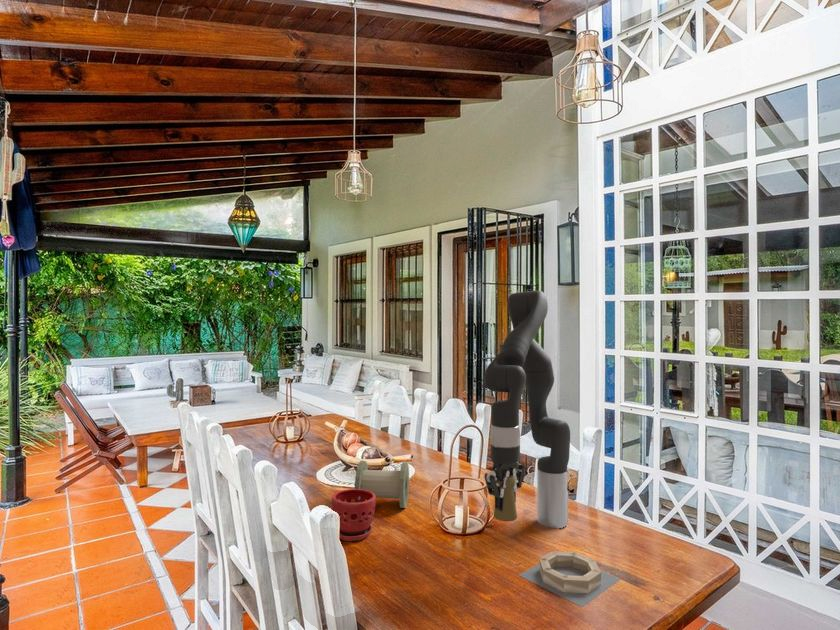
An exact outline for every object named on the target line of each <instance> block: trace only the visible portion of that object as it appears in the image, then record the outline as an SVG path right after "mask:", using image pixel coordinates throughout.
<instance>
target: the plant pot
mask: <svg viewBox="0 0 840 630" xmlns="http://www.w3.org/2000/svg"><path fill="white" fill-rule="evenodd" d="M358 497H361V499H358ZM365 499H366V500H365ZM376 499H377V498H376V496H375V494H374V493H372V492H370V491H367V490H362V489H355V488H349V489H343V490H339V491H337V492H335V493H334V494H333V495H332V497H331V511H332V510H333V511H335V512H337V513H338V514H339V516H340V538H339V540H343V541H348V542H350V541H351V542H352V541H361V540H363V539H365V538H367V537H369V535H370V534H371V533H372V531H373V528H372V525H371V524H372V522H373V519H374V518H375V510H376ZM352 500H354V502H352Z"/></svg>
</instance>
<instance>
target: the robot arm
mask: <svg viewBox="0 0 840 630" xmlns="http://www.w3.org/2000/svg"><path fill="white" fill-rule="evenodd" d="M548 304H549V303H548V299H547V296H546V294H545V292H544V291H541V290H530V291H522V292H521V291H520V292H515V293H511V294H510V295H509V297H508V300H507V308H508V314H509V318H510V321H511V325H512V328H513V329H512V330H511V331H510V332H509V333H508V334H507V335H506V337H505V339H504V341H503V343H502V346H501V348H500V352H499V353H498V354H497V355H496V356H495V357H494V358H493V359H492V361H490V363H489V364H488V366H487V367H486V369H485V371H484V375H483V382H484V385H485V387H486V389H487V390H489V391H491V392H496V393H508V394H509V397H508V399H502V400H497V401H495V402H494V401H493V403H492V404H491V410H490V411H491V412H490V413H491V426H490V436H489V437H490V460H491V461H492V464H493V465H492V468H491V472H489V473H488V472H485V473H484V476H483V477H484V481H485V485H486V489H487V492H488V495H491V496H493V497H494V509H495V508H496V510H497V509H499V510H500V511H501V512H502V510H503V499H504V497H503V495H504V488H506V484H505V483H506V480H507V479H508V477H509V475H512V476H513V477H514V478H515V486H514V487H513V489H514V497H515V504H516V502H517V499H516V498H517V492H518V489H521V488H522V485H523V480H524V475H525V471H526V466H525V464H522V463H519V462H520V461H521V432H520V406H521V405H520V404H521V402H522V401H521V400H522V395H523V393H524V389H525V390H526V395H527V401H528V408H529V409H528V410H529V421H530V431H531V432H530V433H531V436H532V439H533V441H534V443H536V444H537V446H541V447H543V448H547V449H548V448H549V449H550V452H549V453H550V454H549V455H547V456H543V457H539V458H538V459H537V462H536V463H537V464H536V465H537V466H536V467H537V468H536V472H537V473H536V475H537V476H536V478H537V479H536V480H537V481H536V483H537V484H536V486H537V490H536V496H537V497H536V498H537V499H536V504H537V505H536V511H537V512H536V523H537V524H539V525H541V526H543V527H547V528H553V529H555V528H556V529H558V528H561V529H564V528H566V527H567V526H566V525H568V523H569V493H568V464H569V462H570V450H571V429H570V426H569V424H568V423H567V421H564V420H560V419H557V418H556V419H555V418H550V417H549V415H548V411H547V401H548V397H549V396H550V393H551V391H552V389H553V386H554V385H555V384H554V383H555V375H554V370H553V362H552V360H551V357H550V356H549V354H548V353H547V352H546V351H545V349H543V347H542V346H541V345H540V344H539V343H538V342H537V341H536V340H535V337H536V335H537V333H538V331H539V330H540V328H541V326H542V325H543V323H544V321H545V319H546V317H547V313H548V308H549V305H548ZM496 480H498V481H501V482H502V481H503V482H502V484H498V483H496ZM498 487H500V492H499V491H498ZM565 526H566V527H565ZM563 527H564V528H563Z"/></svg>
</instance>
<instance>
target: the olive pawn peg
mask: <svg viewBox="0 0 840 630" xmlns="http://www.w3.org/2000/svg"><path fill="white" fill-rule="evenodd" d="M502 482H503V481H502ZM502 482H501V481H498V480H496V483H498V484H502ZM505 484H506V488H504V495H503V497H504V499H503V510H502V512H501V511H500V510H499V509H497V510H496V508H495V507H494V509H493V511H494V512H493V518H494V519H495V520H498V521H501V522H514V521H516V520H517V519H518V514H517V506H516V503H515V497H514V489H513V487H514V486H515V478H514V477H513V476H512V475H509V477H508V479H507V480H506V483H505ZM498 491H499V492H500V487H498Z"/></svg>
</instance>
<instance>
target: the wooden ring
mask: <svg viewBox="0 0 840 630" xmlns="http://www.w3.org/2000/svg"><path fill="white" fill-rule="evenodd" d="M538 564H539V570H540V573H541V576H542V579H543V582H544V583H546V584H548V585H550V586H552V587H554V588H556V589H558V590H560V591H562V592H570V593H590V592H591V591H592V590H594V589H595V588H597V587H598V586H600V585H601V571H602V570H601V571H600V568H599V566H598V563H597V562H596V560H595V559H592V558H589V557H587V556H585V555H582V554H580V553H577V552H575V551H550V552H548V553H546V554H545V555H542V557H539V563H538ZM555 567H574V568H576V569H579V570H581V571H583V572H585V573H587V574H585V575H584V576H567V575H564V574H561V573H559V572H557V571H555V570H553V569H554V568H555Z"/></svg>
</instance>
